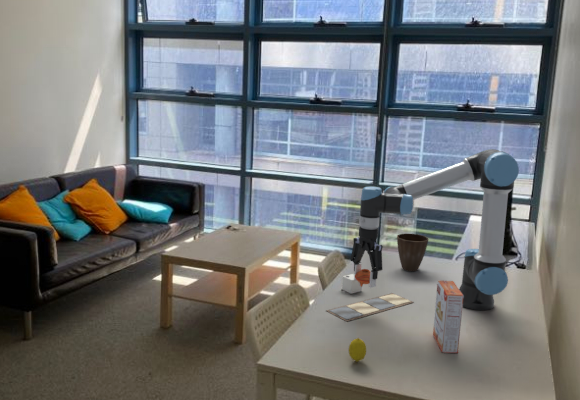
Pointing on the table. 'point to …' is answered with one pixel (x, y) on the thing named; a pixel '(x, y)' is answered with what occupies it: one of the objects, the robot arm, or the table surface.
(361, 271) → the pot
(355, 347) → the lemon
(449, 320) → the cracker box
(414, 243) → the plant pot
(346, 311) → the board
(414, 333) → the table surface
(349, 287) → the die
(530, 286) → the table surface
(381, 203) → the robot arm
